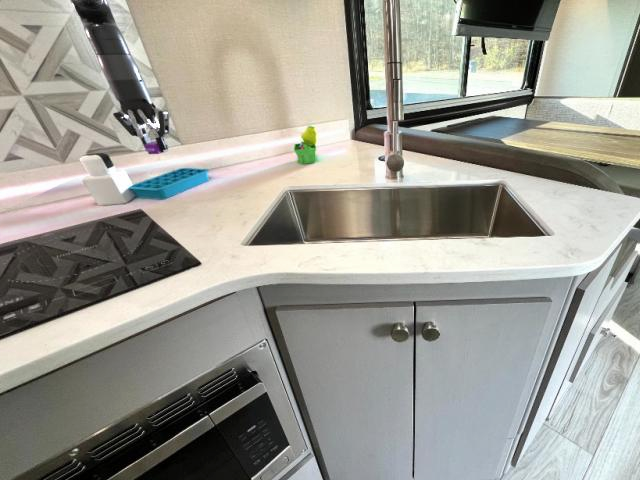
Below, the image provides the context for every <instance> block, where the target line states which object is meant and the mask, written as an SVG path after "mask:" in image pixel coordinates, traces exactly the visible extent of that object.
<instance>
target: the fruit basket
mask: <svg viewBox="0 0 640 480" xmlns="http://www.w3.org/2000/svg"><path fill="white" fill-rule="evenodd" d="M317 135H318V132H317V130H316V127H315V126H313V125H308V126H307V128H306V129H305V130H304V131H303V133H302V134H301V135H300V136H301V141H300V143H299V142H298V143H294V144H293V151H294V153H295V154H296V157H297V159H298V161H299V163H300V164H301V165H307V164H316V154H317V152H316V151H317V143H318V136H317Z"/></svg>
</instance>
